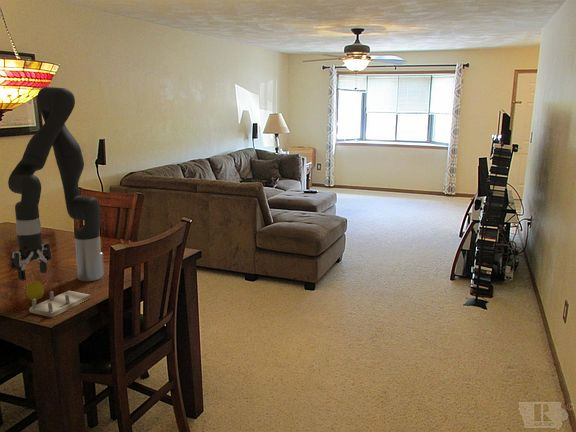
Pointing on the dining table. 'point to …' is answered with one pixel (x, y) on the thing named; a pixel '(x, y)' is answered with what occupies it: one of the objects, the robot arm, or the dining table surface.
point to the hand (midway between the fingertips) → (33, 276)
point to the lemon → (35, 290)
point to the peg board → (58, 303)
